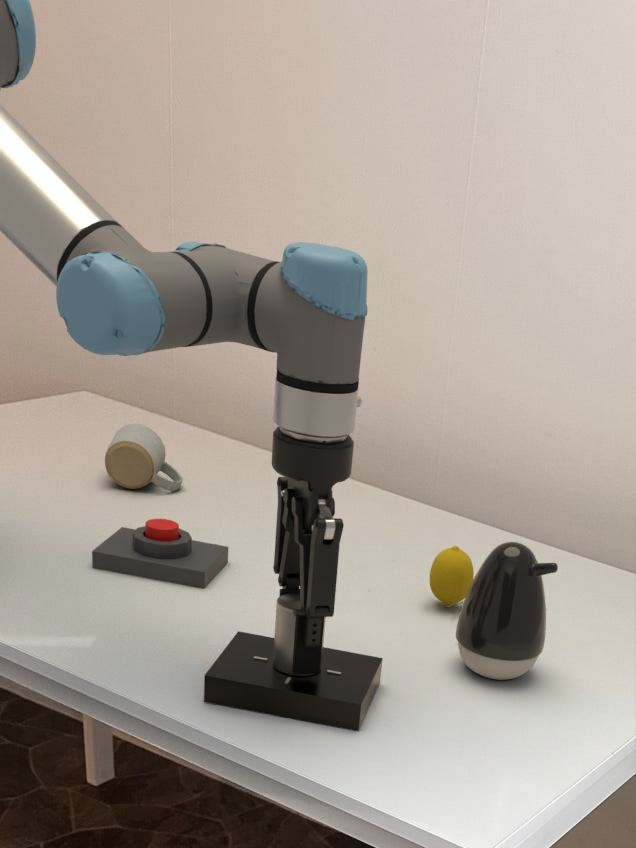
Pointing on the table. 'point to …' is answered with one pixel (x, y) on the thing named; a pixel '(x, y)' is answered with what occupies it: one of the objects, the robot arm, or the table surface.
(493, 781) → the table surface
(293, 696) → the dial panel
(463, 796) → the table surface
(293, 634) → the dial
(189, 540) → the button block
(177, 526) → the power button
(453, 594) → the lemon
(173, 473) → the ceramic mug
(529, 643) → the pump dispenser
